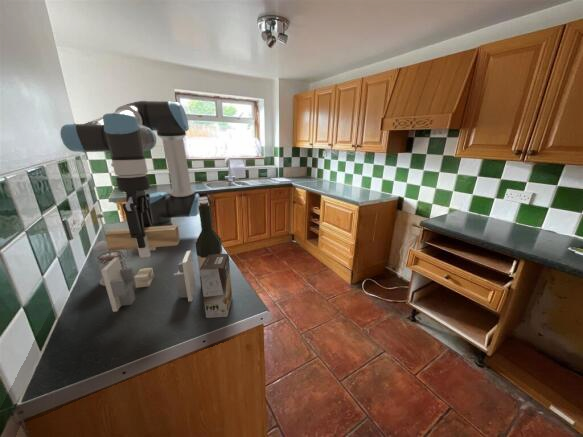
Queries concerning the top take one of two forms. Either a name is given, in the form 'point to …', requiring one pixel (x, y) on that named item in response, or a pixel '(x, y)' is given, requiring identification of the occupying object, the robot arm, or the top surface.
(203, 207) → the wine bottle
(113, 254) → the french press
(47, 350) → the top surface
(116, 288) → the brackets
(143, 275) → the spacers
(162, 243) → the rail
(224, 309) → the coffee box
